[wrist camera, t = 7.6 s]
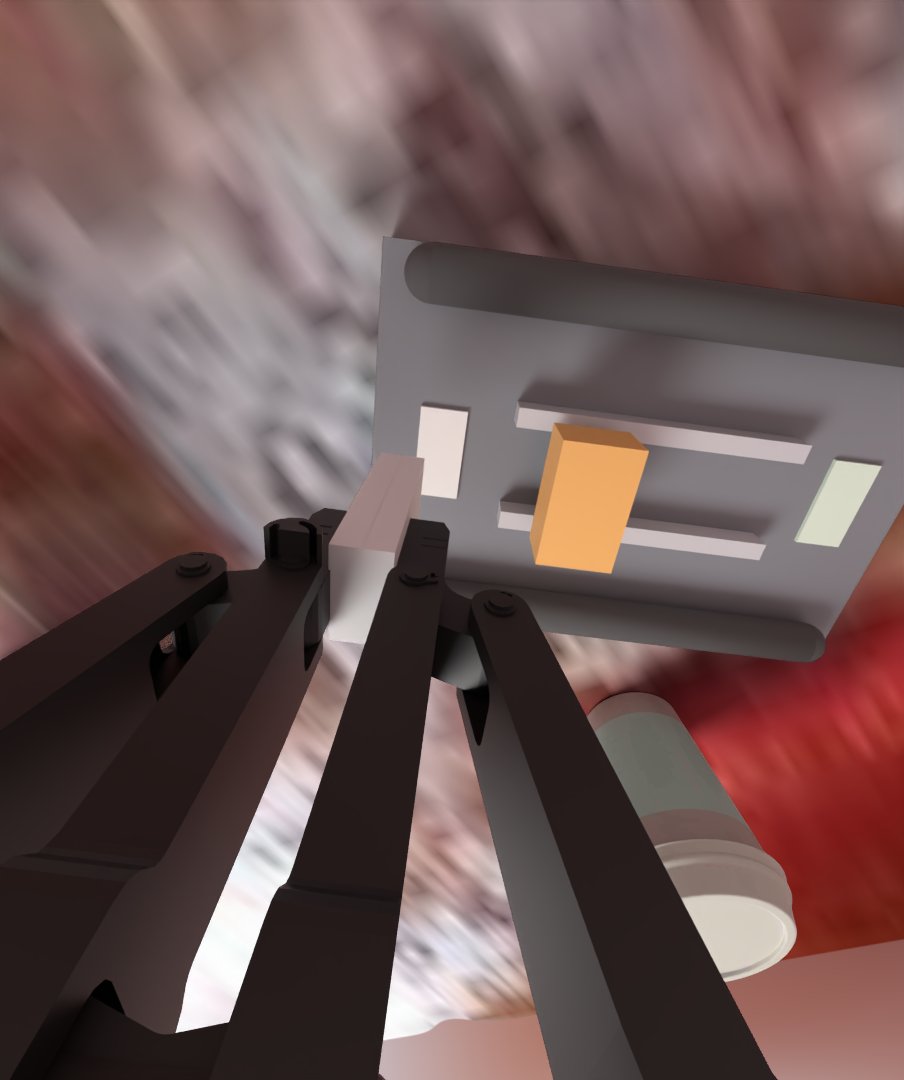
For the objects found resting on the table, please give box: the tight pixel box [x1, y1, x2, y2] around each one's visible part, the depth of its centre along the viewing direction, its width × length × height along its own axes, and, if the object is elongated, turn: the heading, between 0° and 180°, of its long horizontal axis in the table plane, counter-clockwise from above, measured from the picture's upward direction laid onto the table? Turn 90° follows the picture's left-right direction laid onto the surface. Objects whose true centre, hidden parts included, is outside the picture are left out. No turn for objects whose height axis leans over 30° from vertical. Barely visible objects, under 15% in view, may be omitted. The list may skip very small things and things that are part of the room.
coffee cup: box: [587, 692, 797, 982], centre depth 27 cm, size 8×8×12 cm
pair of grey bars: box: [404, 242, 904, 663], centre depth 22 cm, size 22×16×2 cm
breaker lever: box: [529, 422, 649, 574], centre depth 21 cm, size 3×5×4 cm, turn 173°
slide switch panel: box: [371, 236, 904, 639], centre depth 23 cm, size 24×16×3 cm, turn 83°
